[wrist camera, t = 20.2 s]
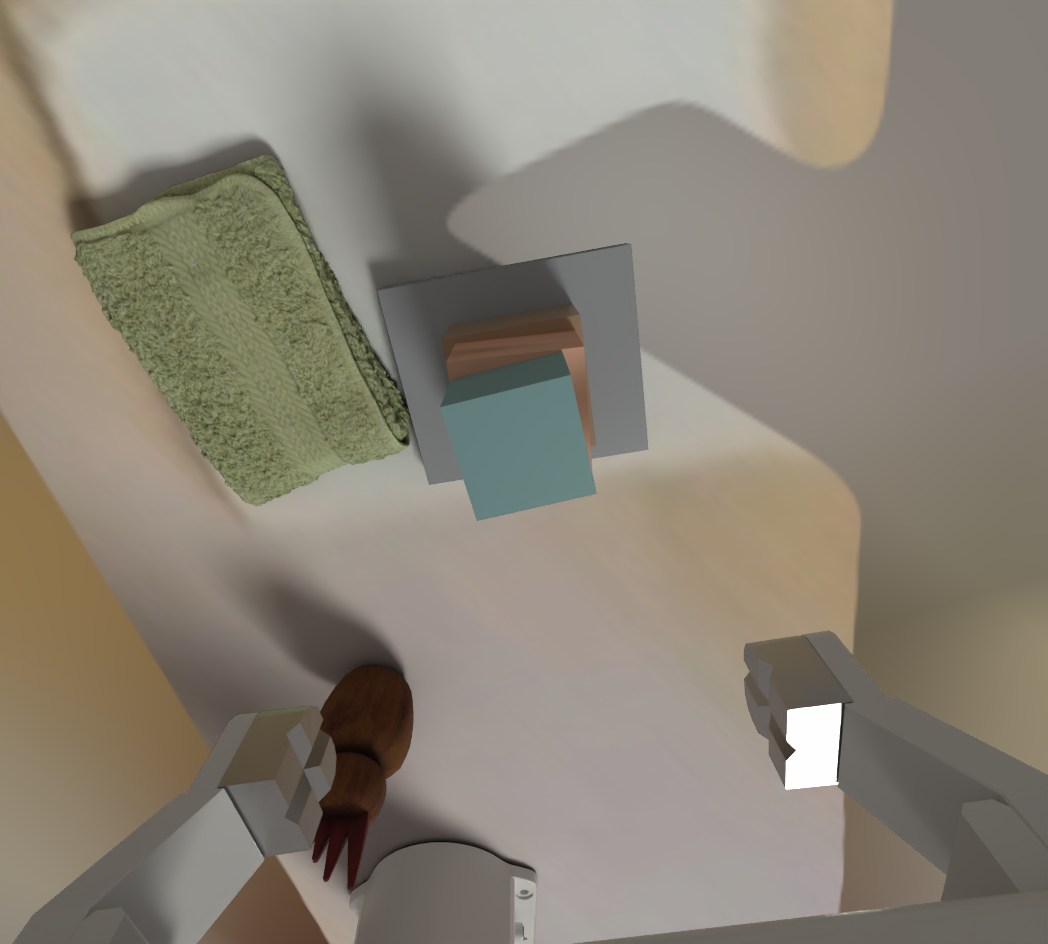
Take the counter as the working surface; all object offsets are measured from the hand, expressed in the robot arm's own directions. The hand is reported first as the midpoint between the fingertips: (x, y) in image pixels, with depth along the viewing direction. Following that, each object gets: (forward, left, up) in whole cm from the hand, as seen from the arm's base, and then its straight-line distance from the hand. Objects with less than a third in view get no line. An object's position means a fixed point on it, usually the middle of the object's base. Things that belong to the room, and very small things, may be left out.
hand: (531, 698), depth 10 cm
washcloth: (+4, +15, -26) cm, 30 cm away
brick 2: (0, 0, -16) cm, 16 cm away
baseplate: (0, 0, -26) cm, 26 cm away
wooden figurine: (-23, +15, -26) cm, 38 cm away
